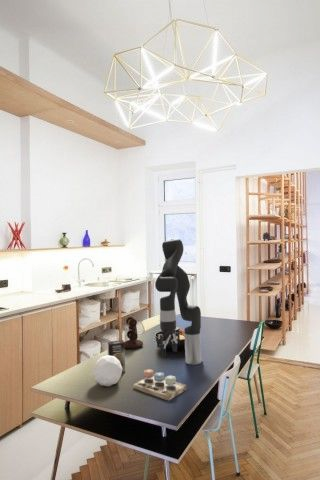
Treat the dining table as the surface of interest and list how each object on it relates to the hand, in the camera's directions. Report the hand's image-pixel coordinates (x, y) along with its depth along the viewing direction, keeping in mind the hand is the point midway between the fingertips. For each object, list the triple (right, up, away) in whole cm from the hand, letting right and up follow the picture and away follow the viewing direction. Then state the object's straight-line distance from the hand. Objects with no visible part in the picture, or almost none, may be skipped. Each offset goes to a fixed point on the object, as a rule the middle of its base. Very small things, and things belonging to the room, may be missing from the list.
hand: (169, 353), depth 157 cm
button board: (-4, -19, +4) cm, 19 cm away
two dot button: (-10, -14, +9) cm, 19 cm away
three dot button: (-5, -14, +4) cm, 15 cm away
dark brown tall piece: (-23, -20, +73) cm, 79 cm away
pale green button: (+1, -14, 0) cm, 14 cm away
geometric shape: (-31, -20, +12) cm, 38 cm away
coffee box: (-29, -20, +30) cm, 46 cm away
